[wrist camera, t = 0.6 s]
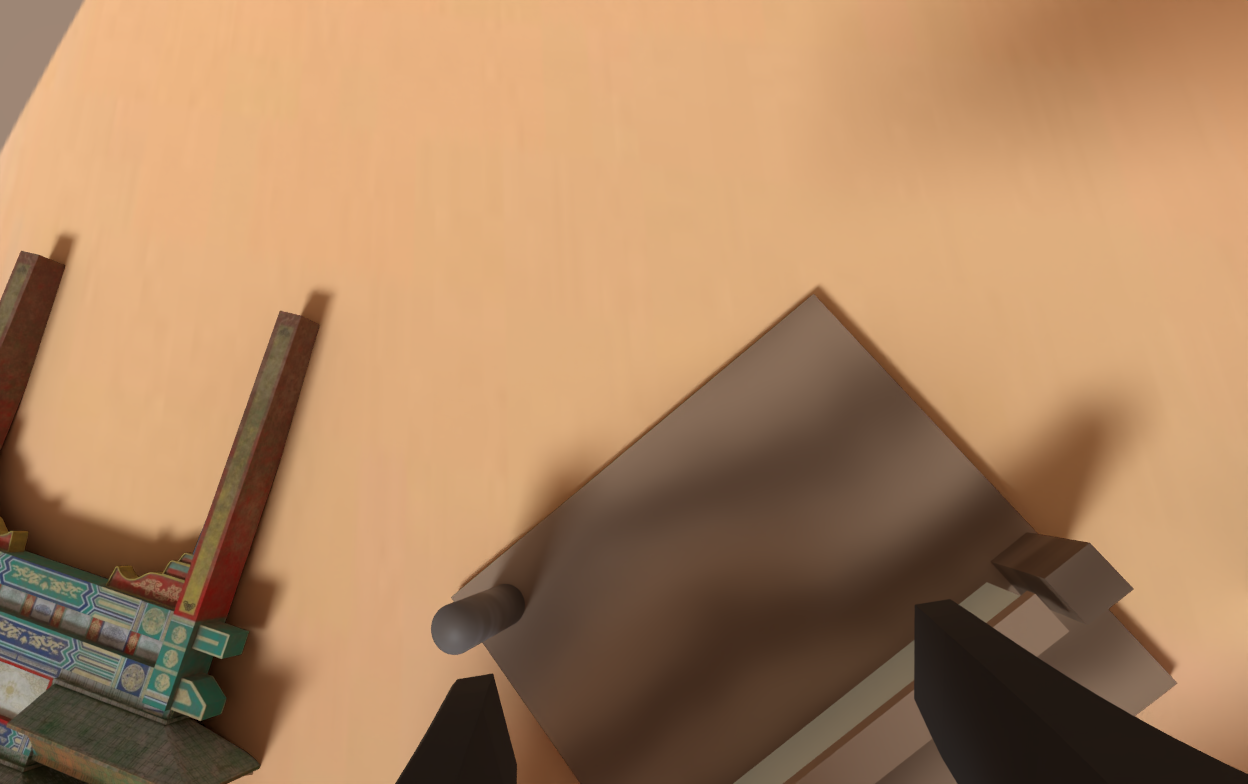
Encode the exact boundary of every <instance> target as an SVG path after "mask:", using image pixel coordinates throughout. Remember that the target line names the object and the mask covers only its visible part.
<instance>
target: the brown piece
mask: <svg viewBox="0 0 1248 784" xmlns="http://www.w3.org/2000/svg"><path fill="white" fill-rule="evenodd" d="M986 582H988V583H990V584H992V585H995V586H997V587H1000V588H1002V589H1005V590H1007V591H1009V592H1012V593H1014V594H1017V595H1019V596H1021V595H1022V594H1023V593H1025V592H1026V591H1029V592H1032V593H1034V594H1036V595H1037V596H1038V597H1039V598H1040V600H1041V601H1042V602H1043V603H1044V604H1045V605H1046V606H1047V607H1048V608H1049V609H1050V610H1051V612H1052V613H1053V614H1054V615H1055V616H1056V617H1057V618H1058V619H1059V620H1060V621H1061V623H1062V624H1063V625H1064V626H1065V627H1066V628H1067V629H1068V630H1069V632H1068V633H1067V634H1065V635H1064V636H1063V637H1062V638H1060V639H1059V640H1058V641H1056V642H1055V643H1054V644H1053V645H1051V646H1050V647H1049V648H1048V649H1046V650H1045V651H1044V652H1042V653H1041V654H1040V655H1039V656H1037V657H1038V658H1039V659H1041V660H1042V661H1044V662H1046V663H1047V664H1049V665H1050V666H1052V667H1053V668H1055V669H1056V670H1058V671H1060V672H1061V673H1063V674H1064V675H1066V676H1068V677H1069V678H1071V679H1072V680H1074V681H1076V682H1077V683H1079V684H1080V685H1082V686H1084V687H1085V688H1087V689H1089V690H1090V691H1092V692H1094V693H1095V694H1097V695H1098V696H1100V697H1102V698H1104V699H1105V700H1107V701H1109V702H1111V703H1112V704H1114V705H1116V706H1117V707H1119V708H1121V709H1123V710H1124V711H1126V712H1128V713H1130V714H1131V715H1133V716H1136V715H1137V714H1138V713H1140V712H1141V711H1142V710H1144V709H1145V708H1146V707H1147V706H1149V705H1150V704H1151V703H1153V702H1154V701H1155V700H1157V699H1158V698H1159V697H1160V696H1162V695H1163V694H1164V693H1166V692H1167V691H1168V690H1170V689H1171V688H1172V687H1173V686H1175V685H1176V684H1177V682H1176V681H1175V680H1174V679H1173V678H1172V677H1171V676H1170V675H1169V674H1168V673H1167V671H1166V670H1165V669H1164V668H1163V667H1162V666H1161V665H1160V664H1159V663H1158V662H1157V661H1156V660H1155V659H1154V658H1153V657H1152V655H1151V654H1150V653H1149V652H1148V651H1147V650H1146V649H1145V648H1144V647H1143V646H1142V645H1141V644H1140V643H1139V642H1138V640H1137V639H1136V638H1135V637H1134V636H1133V635H1132V634H1131V633H1130V632H1129V631H1128V630H1127V629H1126V628H1125V627H1124V625H1123V624H1122V623H1121V622H1120V621H1119V620H1118V619H1117V618H1116V617H1115V616H1114V615H1113V614H1112V613H1111V612H1110V611H1109V608H1110V607H1112V606H1113V605H1114V604H1115V603H1117V602H1118V601H1119V600H1121V599H1122V598H1123V597H1124V596H1126V595H1127V594H1128V593H1130V592H1131V591H1132V590H1133V588H1132V587H1131V586H1130V585H1129V583H1128V582H1127V581H1126V580H1125V579H1124V578H1123V577H1122V576H1121V575H1120V574H1119V573H1118V572H1117V571H1116V570H1115V569H1114V568H1113V567H1112V566H1111V565H1110V563H1109V562H1108V561H1107V560H1106V559H1105V558H1104V557H1103V556H1102V555H1101V554H1100V553H1099V552H1098V551H1097V550H1096V549H1095V548H1094V547H1093V546H1092V545H1091V543H1088V542H1082V541H1076V540H1070V539H1064V538H1058V537H1052V536H1046V535H1040V534H1038V533H1037V532H1036V531H1035V530H1034V529H1033V528H1032V527H1031V526H1030V525H1029V524H1028V523H1027V522H1026V521H1025V520H1024V518H1023V517H1022V516H1021V515H1020V514H1019V513H1018V512H1017V511H1016V510H1015V509H1014V508H1013V507H1012V506H1011V505H1010V504H1009V502H1008V501H1007V500H1006V499H1005V498H1004V497H1003V496H1002V495H1001V494H1000V493H999V492H998V491H997V490H996V489H995V487H994V486H993V485H992V484H991V483H990V482H989V481H988V480H987V479H986V478H985V477H984V476H983V475H982V474H981V472H980V471H979V470H978V469H977V468H976V467H975V466H974V465H973V464H972V463H971V462H970V461H969V460H968V459H967V457H966V456H965V455H964V454H963V453H962V452H961V451H960V450H959V449H958V448H957V447H956V446H955V445H954V444H953V443H952V441H951V440H950V439H949V438H948V437H947V436H946V435H945V434H944V433H943V432H942V431H941V430H940V429H939V428H938V426H937V425H936V424H935V423H934V422H933V421H932V420H931V419H930V418H929V417H928V416H927V415H926V414H925V413H924V411H923V410H922V409H921V408H920V407H919V406H918V405H917V404H916V403H915V402H914V401H913V400H912V399H911V398H910V397H909V395H908V394H907V393H906V392H905V391H904V390H903V389H902V388H901V387H900V386H899V385H898V384H897V383H896V382H895V380H894V379H893V378H892V377H891V376H890V375H889V374H888V373H887V372H886V371H885V370H884V369H883V368H882V367H881V365H880V364H879V363H878V362H877V361H876V360H875V359H874V358H873V357H872V356H871V355H870V354H869V353H868V352H867V350H866V349H865V348H864V347H863V346H862V345H861V344H860V343H859V342H858V341H857V340H856V339H855V338H854V337H853V336H852V334H851V333H850V332H849V331H848V330H847V329H846V328H845V327H844V326H843V325H842V324H841V323H840V322H839V321H838V319H837V318H836V317H835V316H834V315H833V314H832V313H831V312H830V311H829V310H828V309H827V308H826V307H825V306H824V304H823V303H822V302H821V301H820V300H819V299H818V298H817V297H816V296H815V295H814V294H813V295H812V296H810V297H809V298H808V299H807V300H806V301H804V302H803V303H802V304H801V305H800V306H798V307H797V308H796V309H795V310H794V311H792V312H791V313H790V314H789V315H788V316H787V317H785V318H784V319H783V320H782V321H781V322H779V323H778V324H777V325H776V326H775V327H773V328H772V329H771V330H770V331H769V332H767V333H766V334H765V335H764V336H763V337H761V338H760V339H759V340H758V341H757V342H755V343H754V344H753V345H752V346H751V347H749V348H748V349H747V350H746V351H745V352H743V353H742V354H741V355H740V356H739V357H738V358H736V359H735V360H734V361H733V362H732V363H730V364H729V365H728V366H727V367H726V368H724V369H723V370H722V371H721V372H720V373H718V374H717V375H716V376H715V377H714V378H712V379H711V380H710V381H709V382H708V383H706V384H705V385H704V386H703V387H702V388H700V389H699V390H698V391H697V392H696V393H695V394H693V395H692V396H691V397H690V398H689V399H687V400H686V401H685V402H684V403H683V404H681V405H680V406H679V407H678V408H677V409H675V410H674V411H673V412H672V413H671V414H669V415H668V416H667V417H666V418H665V419H663V420H662V421H661V422H660V423H659V424H657V425H656V426H655V427H654V428H653V429H651V430H650V431H649V432H648V433H647V434H646V435H644V436H643V437H642V438H641V439H640V440H638V441H637V442H636V443H635V444H634V445H632V446H631V447H630V448H629V449H628V450H626V451H625V452H624V453H623V454H622V455H620V456H619V457H618V458H617V459H616V460H614V461H613V462H612V463H611V464H610V465H608V466H607V467H606V468H605V469H604V470H602V471H601V472H600V473H599V474H598V475H597V476H595V477H594V478H593V479H592V480H591V481H589V482H588V483H587V484H586V485H585V486H583V487H582V488H581V489H580V490H579V491H577V492H576V493H575V494H574V495H573V496H571V497H570V498H569V499H568V500H567V501H565V502H564V503H563V504H562V505H561V506H559V507H558V508H557V509H556V510H555V511H553V512H552V513H551V514H550V515H549V516H548V517H546V518H545V519H544V520H543V521H542V522H540V523H539V524H538V525H537V526H536V527H534V528H533V529H532V530H531V531H530V532H528V533H527V534H526V535H525V536H524V537H522V538H521V539H520V540H519V541H518V542H516V543H515V544H514V545H513V546H512V547H510V548H509V549H508V550H507V551H506V552H504V553H503V554H502V555H501V556H500V557H499V558H497V559H496V560H495V561H494V562H493V563H491V564H490V565H489V566H488V567H487V568H485V569H484V570H483V571H482V572H481V573H479V574H478V575H477V576H476V577H475V578H473V579H472V580H471V581H470V582H469V583H467V584H466V585H465V586H464V587H463V588H461V589H460V590H459V591H458V592H457V593H456V594H454V595H453V596H452V597H451V598H452V600H453V601H454V602H453V603H451V604H448V605H445V606H444V607H442V608H441V609H440V610H438V612H437V613H436V614H435V616H434V618H433V621H432V625H431V633H432V637H433V640H434V642H435V644H436V645H437V647H438V648H439V649H440V650H442V651H443V652H445V653H447V654H451V655H458V654H462V653H464V652H466V651H468V650H469V649H471V648H473V647H475V646H476V645H478V644H480V643H483V644H484V646H485V647H486V648H487V650H488V651H489V653H490V654H491V656H492V657H493V658H494V660H495V661H496V663H497V664H498V666H499V667H500V669H501V670H502V671H503V673H504V674H505V676H506V677H507V679H508V680H509V681H510V683H511V684H512V686H513V687H514V689H515V690H516V691H517V693H518V694H519V696H520V697H521V699H522V700H523V702H524V703H525V704H526V706H527V707H528V709H529V710H530V712H531V713H532V714H533V716H534V717H535V719H536V720H537V722H538V723H539V725H540V726H541V727H542V729H543V730H544V732H545V733H546V735H547V736H548V737H549V739H550V740H551V742H552V743H553V745H554V746H555V748H556V749H557V750H558V752H559V753H560V755H561V756H562V758H563V759H564V760H565V762H566V763H567V765H568V766H569V768H570V769H571V771H572V772H573V773H574V775H575V776H576V778H577V779H578V781H579V782H580V783H581V784H733V783H735V782H736V781H737V780H738V779H740V778H741V777H742V776H743V775H745V774H746V773H747V772H748V771H750V770H751V769H752V768H753V767H755V766H756V765H757V764H759V763H760V762H761V761H762V760H764V759H765V758H766V757H767V756H769V755H770V754H771V753H772V752H774V751H775V750H776V749H777V748H779V747H780V746H781V745H782V744H784V743H785V742H786V741H787V740H789V739H790V738H791V737H793V736H794V735H795V734H796V733H798V732H799V731H800V730H801V729H803V728H804V727H805V726H806V725H808V724H809V723H810V722H811V721H813V720H814V719H815V718H816V717H818V716H819V715H820V714H821V713H823V712H824V711H825V710H827V709H828V708H829V707H830V706H832V705H833V704H834V703H835V702H837V701H838V700H839V699H840V698H842V697H843V696H844V695H845V694H847V693H848V692H849V691H850V690H852V689H853V688H854V687H855V686H857V685H858V684H859V683H861V682H862V681H863V680H864V679H866V678H867V677H868V676H869V675H871V674H872V673H873V672H874V671H876V670H877V669H878V668H879V667H881V666H882V665H883V664H884V663H886V662H887V661H888V660H889V659H891V658H892V657H893V656H895V655H896V654H897V653H898V652H900V651H901V650H902V649H903V648H905V647H906V646H907V645H908V644H910V643H911V642H912V641H913V640H914V618H915V605H916V604H922V603H928V602H934V601H940V600H946V599H951V600H953V601H954V602H956V603H957V604H960V603H961V602H962V601H964V600H965V599H966V598H968V597H969V596H970V595H971V594H973V593H974V592H975V591H976V590H978V589H979V588H980V587H981V586H983V585H984V584H985V583H986ZM875 784H957V782H956V780H955V779H954V777H953V776H952V774H951V772H950V771H949V769H948V767H947V766H946V764H945V762H944V761H943V759H942V757H941V755H940V753H939V751H938V749H937V747H936V745H935V743H934V741H933V739H931V740H930V741H929V742H928V743H926V744H925V745H924V746H922V747H921V748H920V749H919V750H917V751H916V752H915V753H913V754H912V755H911V756H910V757H908V758H907V759H906V760H905V761H903V762H902V763H901V764H899V765H898V766H897V767H896V768H894V769H893V770H892V771H890V772H889V773H888V774H887V775H885V776H884V777H883V778H882V779H880V780H879V781H878V782H876V783H875Z"/></svg>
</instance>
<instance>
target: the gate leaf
mask: <svg viewBox="0 0 1248 784" xmlns="http://www.w3.org/2000/svg"><path fill="white" fill-rule="evenodd" d="M959 605H960V606H962V607H963V608H965V609H966V610H968V611H969V612H971V613H972V614H974V615H975V616H977V617H978V618H980V619H981V620H983V621H984V622H986V623H987V624H989V625H990V626H991V627H993V628H994V629H996V630H997V631H999V632H1000V633H1002V634H1003V635H1005V636H1006V637H1008V638H1009V639H1011V640H1012V641H1014V642H1015V643H1017V644H1018V645H1020V646H1021V647H1023V648H1024V649H1026V650H1027V651H1029V652H1030V653H1032V654H1033V655H1035V656H1036V657H1037V656H1039V655H1040V654H1041V653H1042V652H1044V651H1045V650H1046V649H1048V648H1049V647H1050V646H1051V645H1053V644H1054V643H1055V642H1056V641H1058V640H1059V639H1060V638H1062V637H1063V636H1064V635H1065V634H1067V633H1068V632H1069V630H1068V629H1067V628H1066V627H1065V626H1064V625H1063V624H1062V623H1061V621H1060V620H1059V619H1058V618H1057V617H1056V616H1055V615H1054V614H1053V613H1052V612H1051V610H1050V609H1049V608H1048V607H1047V606H1046V605H1045V604H1044V603H1043V602H1042V601H1041V600H1040V598H1039V597H1038V596H1037V595H1036V594H1034V593H1032V592H1029V591H1026V592H1025V593H1023V594H1022V595H1021V596H1019V595H1017V594H1014V593H1012V592H1009V591H1007V590H1005V589H1002V588H1000V587H997V586H995V585H992V584H990V583H988V582H986V583H985V584H984V585H983V586H981V587H980V588H979V589H978V590H976V591H975V592H974V593H973V594H971V595H970V596H969V597H968V598H966V599H965V600H964V601H962V602H961V603H960V604H959ZM931 739H932V737H931V734H930V732H929V730H928V728H927V726H926V724H925V722H924V719H923V717H922V715H921V713H920V711H919V708H918V706H917V704H916V702H915V700H914V640H913V641H912V642H911V643H910V644H908V645H907V646H906V647H905V648H903V649H902V650H901V651H900V652H898V653H897V654H896V655H895V656H893V657H892V658H891V659H889V660H888V661H887V662H886V663H884V664H883V665H882V666H881V667H879V668H878V669H877V670H876V671H874V672H873V673H872V674H871V675H869V676H868V677H867V678H866V679H864V680H863V681H862V682H861V683H859V684H858V685H857V686H855V687H854V688H853V689H852V690H850V691H849V692H848V693H847V694H845V695H844V696H843V697H842V698H840V699H839V700H838V701H837V702H835V703H834V704H833V705H832V706H830V707H829V708H828V709H827V710H825V711H824V712H823V713H821V714H820V715H819V716H818V717H816V718H815V719H814V720H813V721H811V722H810V723H809V724H808V725H806V726H805V727H804V728H803V729H801V730H800V731H799V732H798V733H796V734H795V735H794V736H793V737H791V738H790V739H789V740H787V741H786V742H785V743H784V744H782V745H781V746H780V747H779V748H777V749H776V750H775V751H774V752H772V753H771V754H770V755H769V756H767V757H766V758H765V759H764V760H762V761H761V762H760V763H759V764H757V765H756V766H755V767H753V768H752V769H751V770H750V771H748V772H747V773H746V774H745V775H743V776H742V777H741V778H740V779H738V780H737V781H736V782H735V783H733V784H875V783H876V782H878V781H879V780H880V779H882V778H883V777H884V776H885V775H887V774H888V773H889V772H890V771H892V770H893V769H894V768H896V767H897V766H898V765H899V764H901V763H902V762H903V761H905V760H906V759H907V758H908V757H910V756H911V755H912V754H913V753H915V752H916V751H917V750H919V749H920V748H921V747H922V746H924V745H925V744H926V743H928V742H929V741H930V740H931Z"/></svg>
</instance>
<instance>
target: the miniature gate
mask: <svg viewBox="0 0 1248 784" xmlns="http://www.w3.org/2000/svg"><path fill="white" fill-rule="evenodd" d="M64 268H65V265H63V264H60V263H58V262H55V261H53V260H50V259H48V258H45V257H43V256H40V255H37V254H33V253H28V252H24V251H21V252H20V255H19V257H18V259H17V262H16V264H15V267H14V269H13V271H12V274H11V276H10V279H9V281H8V283H7V286H6V288H5V291H4V293H3V295H2V298H1V300H0V450H1V448H2V445H3V443H4V440H5V438H6V435H7V433H8V430H9V428H10V425H11V423H12V420H13V418H14V415H15V413H16V410H17V408H18V405H19V403H20V400H21V398H22V396H23V393H24V391H25V388H26V386H27V382H28V379H29V376H30V373H31V370H32V367H33V364H34V361H35V358H36V355H37V352H38V348H39V345H40V342H41V339H42V336H43V333H44V330H45V327H46V324H47V321H48V318H49V314H50V311H51V308H52V305H53V302H54V299H55V296H56V293H57V290H58V287H59V284H60V281H61V277H62V274H63V271H64ZM318 329H319V324H317V323H315V322H313V321H311V320H309V319H307V318H305V317H303V316H300V315H296V314H292V313H287V312H283V311H280V312H279V315H278V318H277V321H276V323H275V326H274V329H273V332H272V335H271V338H270V340H269V343H268V346H267V349H266V352H265V355H264V357H263V360H262V363H261V366H260V369H259V372H258V374H257V377H256V380H255V383H254V386H253V389H252V391H251V394H250V397H249V400H248V403H247V406H246V409H245V411H244V414H243V417H242V420H241V423H240V426H239V428H238V431H237V434H236V437H235V440H234V443H233V445H232V448H231V451H230V454H229V457H228V460H227V462H226V465H225V468H224V471H223V474H222V477H221V480H220V482H219V485H218V488H217V491H216V494H215V497H214V499H213V502H212V505H211V508H210V511H209V514H208V516H207V519H206V521H205V524H204V527H203V529H202V532H201V534H200V537H199V539H198V542H197V544H196V547H195V549H194V552H193V553H183V555H182V556H181V557H180V559H179V560H172V561H170V562H169V563H168V565H167V567H166V568H165V570H164V571H163V572H149V573H146V574H144V575H142V576H140V577H139V576H138V575H136V573H135V572H134V570H133V567H132V566H131V565H129V566H116V567H115V569H114V571H113V573H112V574H111V576H110V578H109V579H106V578H103V577H101V576H98V575H95V574H92V573H89V572H86V571H83V570H80V569H77V568H74V567H71V566H68V565H65V564H63V563H60V562H57V561H54V560H51V559H48V558H45V557H42V556H39V555H36V554H33V553H30V552H27V551H25V546H26V542H27V537H28V531H10V532H9V531H8V530H7V528H6V526H5V523H4V521H3V519H2V518H1V517H0V784H228V783H230V782H232V781H234V780H236V779H238V778H240V777H242V776H245V775H253V771H255V770H257V769H259V768H260V764H259V763H258V762H257V761H256V760H255V759H254V758H253V757H252V756H251V755H249V754H248V753H247V752H245V751H244V750H242V749H240V748H239V747H237V746H235V745H234V744H232V743H230V742H229V741H227V740H225V739H224V738H222V737H220V736H219V735H217V734H215V733H214V732H212V731H210V730H209V729H207V728H205V727H204V726H202V725H200V724H199V723H197V722H195V721H194V720H192V719H190V718H189V717H192V718H194V719H197V720H199V721H202V720H205V719H208V718H211V717H214V716H217V715H220V714H222V711H223V708H224V705H225V702H226V699H227V698H226V696H225V695H224V693H223V692H222V690H221V688H220V687H219V685H218V683H217V682H216V680H215V679H214V677H213V676H211V675H208V671H209V668H210V665H211V662H212V659H213V656H215V657H218V658H221V659H223V658H228V657H232V656H237V655H241V654H242V652H243V649H244V646H245V643H246V640H247V637H248V634H249V631H247V630H244V629H241V628H238V627H235V626H232V625H229V624H226V623H225V621H226V618H227V615H228V612H229V609H230V606H231V603H232V600H233V597H234V594H235V591H236V588H237V585H238V583H239V580H240V577H241V574H242V571H243V568H244V565H245V562H246V559H247V556H248V553H249V550H250V547H251V544H252V541H253V538H254V535H255V533H256V530H257V527H258V524H259V521H260V518H261V515H262V512H263V509H264V506H265V503H266V500H267V497H268V494H269V491H270V488H271V486H272V483H273V480H274V477H275V474H276V471H277V468H278V465H279V462H280V459H281V456H282V453H283V449H284V446H285V442H286V439H287V435H288V432H289V429H290V425H291V422H292V418H293V415H294V411H295V408H296V404H297V401H298V398H299V394H300V391H301V387H302V384H303V380H304V377H305V373H306V370H307V367H308V363H309V360H310V356H311V353H312V349H313V346H314V342H315V339H316V336H317V332H318Z"/></svg>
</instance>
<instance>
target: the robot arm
mask: <svg viewBox="0 0 1248 784" xmlns="http://www.w3.org/2000/svg"><path fill="white" fill-rule="evenodd" d="M914 700H915V702H916V704H917V706H918V708H919V711H920V713H921V715H922V717H923V719H924V722H925V724H926V726H927V728H928V730H929V732H930V734H931V737H932V739H933V741H934V743H935V745H936V747H937V749H938V751H939V753H940V755H941V757H942V759H943V761H944V762H945V764H946V766H947V767H948V769H949V771H950V772H951V774H952V776H953V777H954V779H955V780H956V782H957V784H1248V774H1246V773H1244V772H1242V771H1240V770H1237V769H1235V768H1233V767H1231V766H1229V765H1227V764H1225V763H1223V762H1221V761H1219V760H1217V759H1215V758H1213V757H1211V756H1209V755H1207V754H1205V753H1203V752H1201V751H1199V750H1197V749H1195V748H1193V747H1191V746H1189V745H1187V744H1185V743H1183V742H1181V741H1179V740H1177V739H1175V738H1173V737H1171V736H1169V735H1167V734H1166V733H1164V732H1162V731H1160V730H1158V729H1156V728H1155V727H1153V726H1151V725H1149V724H1147V723H1145V722H1144V721H1142V720H1140V719H1138V718H1137V717H1135V716H1133V715H1131V714H1130V713H1128V712H1126V711H1124V710H1123V709H1121V708H1119V707H1117V706H1116V705H1114V704H1112V703H1111V702H1109V701H1107V700H1105V699H1104V698H1102V697H1100V696H1098V695H1097V694H1095V693H1094V692H1092V691H1090V690H1089V689H1087V688H1085V687H1084V686H1082V685H1080V684H1079V683H1077V682H1076V681H1074V680H1072V679H1071V678H1069V677H1068V676H1066V675H1064V674H1063V673H1061V672H1060V671H1058V670H1056V669H1055V668H1053V667H1052V666H1050V665H1049V664H1047V663H1046V662H1044V661H1042V660H1041V659H1039V658H1038V657H1036V656H1035V655H1033V654H1032V653H1030V652H1029V651H1027V650H1026V649H1024V648H1023V647H1021V646H1020V645H1018V644H1017V643H1015V642H1014V641H1012V640H1011V639H1009V638H1008V637H1006V636H1005V635H1003V634H1002V633H1000V632H999V631H997V630H996V629H994V628H993V627H991V626H990V625H989V624H987V623H986V622H984V621H983V620H981V619H980V618H978V617H977V616H975V615H974V614H972V613H971V612H969V611H968V610H966V609H965V608H963V607H962V606H960V605H959V604H957V603H956V602H954V601H953V600H951V599H946V600H940V601H934V602H928V603H922V604H916V605H915V618H914ZM395 784H517V764H516V760H515V756H514V752H513V748H512V744H511V741H510V737H509V733H508V729H507V725H506V721H505V717H504V714H503V710H502V706H501V702H500V698H499V694H498V691H497V687H496V683H495V679H494V675H493V674H487V675H481V676H475V677H469V678H463V679H457V680H456V682H455V683H454V684H453V685H452V687H451V689H450V691H449V692H448V694H447V696H446V698H445V700H444V701H443V703H442V705H441V707H440V709H439V711H438V712H437V714H436V716H435V718H434V720H433V721H432V723H431V725H430V727H429V728H428V730H427V732H426V734H425V735H424V737H423V739H422V740H421V742H420V744H419V746H418V747H417V749H416V751H415V752H414V754H413V756H412V757H411V759H410V761H409V762H408V764H407V765H406V767H405V769H404V770H403V772H402V774H401V775H400V777H399V778H398V780H397V782H396V783H395Z"/></svg>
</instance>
